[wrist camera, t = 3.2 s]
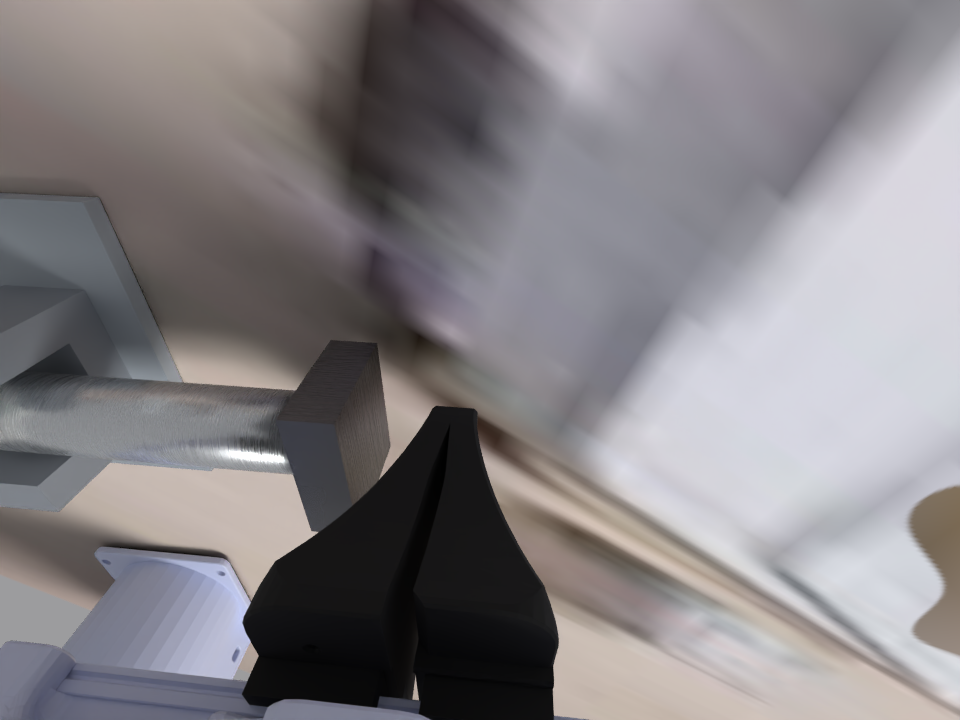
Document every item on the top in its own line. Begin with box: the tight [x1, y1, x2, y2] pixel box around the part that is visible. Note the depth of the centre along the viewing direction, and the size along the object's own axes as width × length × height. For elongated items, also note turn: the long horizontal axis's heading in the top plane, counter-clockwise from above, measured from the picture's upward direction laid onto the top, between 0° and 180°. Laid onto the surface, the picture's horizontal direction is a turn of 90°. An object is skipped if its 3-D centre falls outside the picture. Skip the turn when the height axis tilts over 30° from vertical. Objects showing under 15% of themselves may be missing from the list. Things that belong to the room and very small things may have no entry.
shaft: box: [0, 340, 390, 532], centre depth 14 cm, size 5×16×4 cm, turn 89°
